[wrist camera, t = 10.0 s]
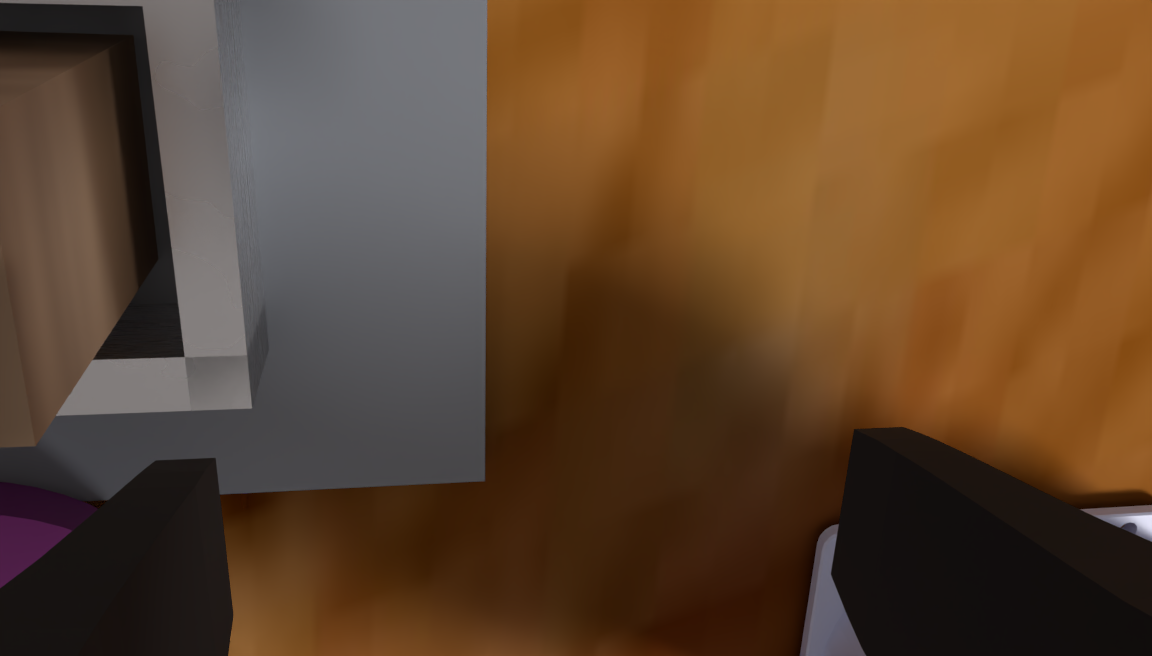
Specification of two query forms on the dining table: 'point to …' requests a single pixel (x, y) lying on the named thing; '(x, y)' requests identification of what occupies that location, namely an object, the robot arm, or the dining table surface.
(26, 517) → the mounting bracket
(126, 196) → the walnut peg
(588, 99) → the dining table surface
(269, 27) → the socket board
